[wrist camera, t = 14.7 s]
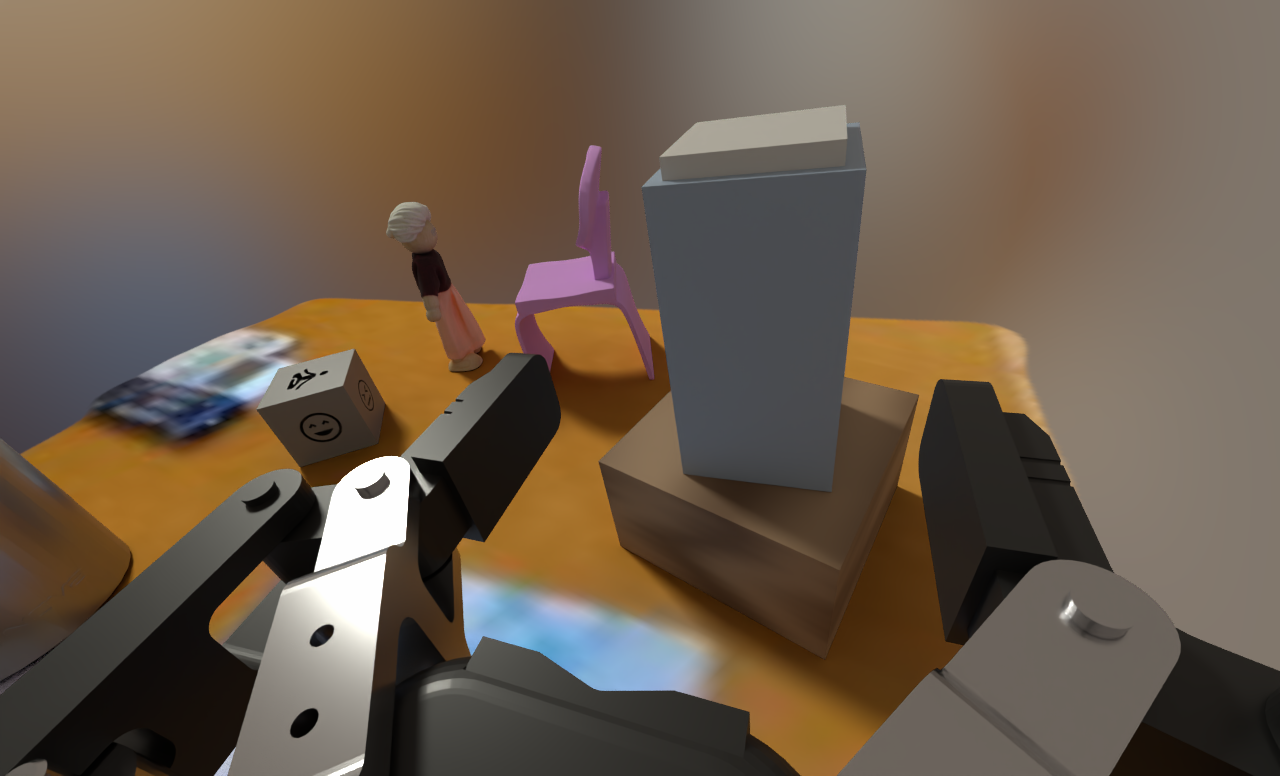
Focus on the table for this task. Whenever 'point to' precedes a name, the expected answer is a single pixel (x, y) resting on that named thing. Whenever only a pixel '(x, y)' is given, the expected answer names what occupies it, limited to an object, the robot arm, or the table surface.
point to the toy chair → (580, 274)
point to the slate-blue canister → (758, 290)
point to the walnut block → (764, 517)
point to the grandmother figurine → (437, 286)
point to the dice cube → (324, 407)
